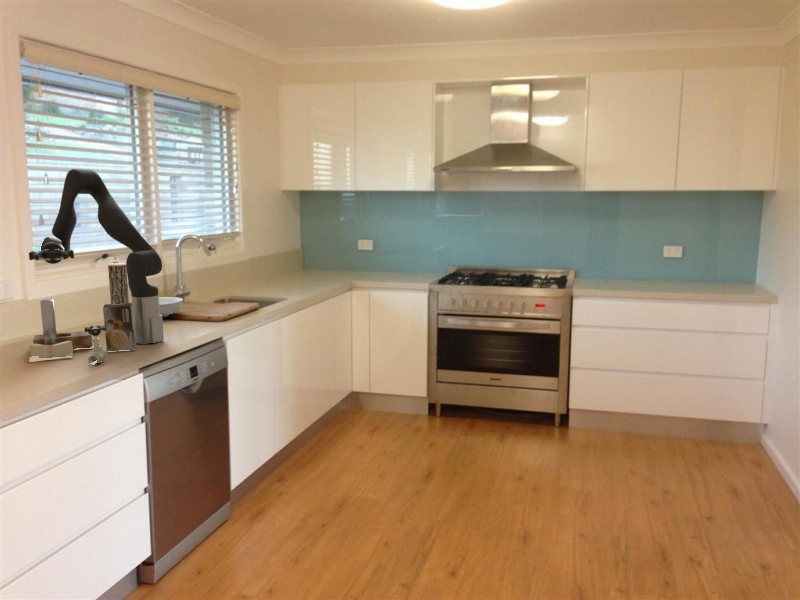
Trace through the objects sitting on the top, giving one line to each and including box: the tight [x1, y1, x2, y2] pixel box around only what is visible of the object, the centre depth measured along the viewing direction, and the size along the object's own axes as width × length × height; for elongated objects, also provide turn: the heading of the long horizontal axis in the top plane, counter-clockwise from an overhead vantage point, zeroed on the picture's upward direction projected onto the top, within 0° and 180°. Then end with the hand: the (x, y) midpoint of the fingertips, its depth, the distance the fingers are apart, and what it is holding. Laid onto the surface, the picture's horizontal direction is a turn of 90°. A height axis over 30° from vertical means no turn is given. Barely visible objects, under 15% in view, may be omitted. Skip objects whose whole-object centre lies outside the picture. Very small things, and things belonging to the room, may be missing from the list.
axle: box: [39, 298, 58, 345], centre depth 228 cm, size 4×4×18 cm
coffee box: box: [102, 302, 137, 352], centre depth 236 cm, size 9×6×16 cm
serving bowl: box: [159, 296, 184, 316], centre depth 296 cm, size 21×21×7 cm
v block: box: [29, 341, 75, 358], centre depth 228 cm, size 10×13×4 cm
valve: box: [84, 324, 108, 364], centre depth 219 cm, size 7×7×12 cm
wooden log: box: [107, 262, 130, 304], centre depth 277 cm, size 7×7×25 cm
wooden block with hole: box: [32, 330, 93, 349], centre depth 238 cm, size 18×8×5 cm, turn 114°
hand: (51, 256), depth 237 cm, fingers open, 8 cm apart
